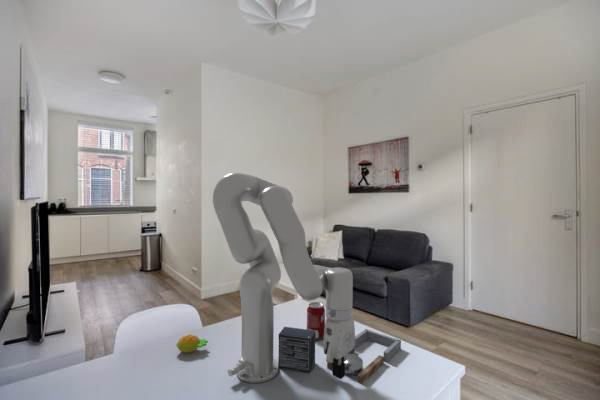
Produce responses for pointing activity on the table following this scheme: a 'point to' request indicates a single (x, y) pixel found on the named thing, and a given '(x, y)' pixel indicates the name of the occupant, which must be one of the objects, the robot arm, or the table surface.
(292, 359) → the small box
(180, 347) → the toy pineapple
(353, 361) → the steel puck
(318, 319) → the soda can
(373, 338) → the grey u-shaped frame
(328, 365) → the walnut slot
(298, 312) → the table surface
